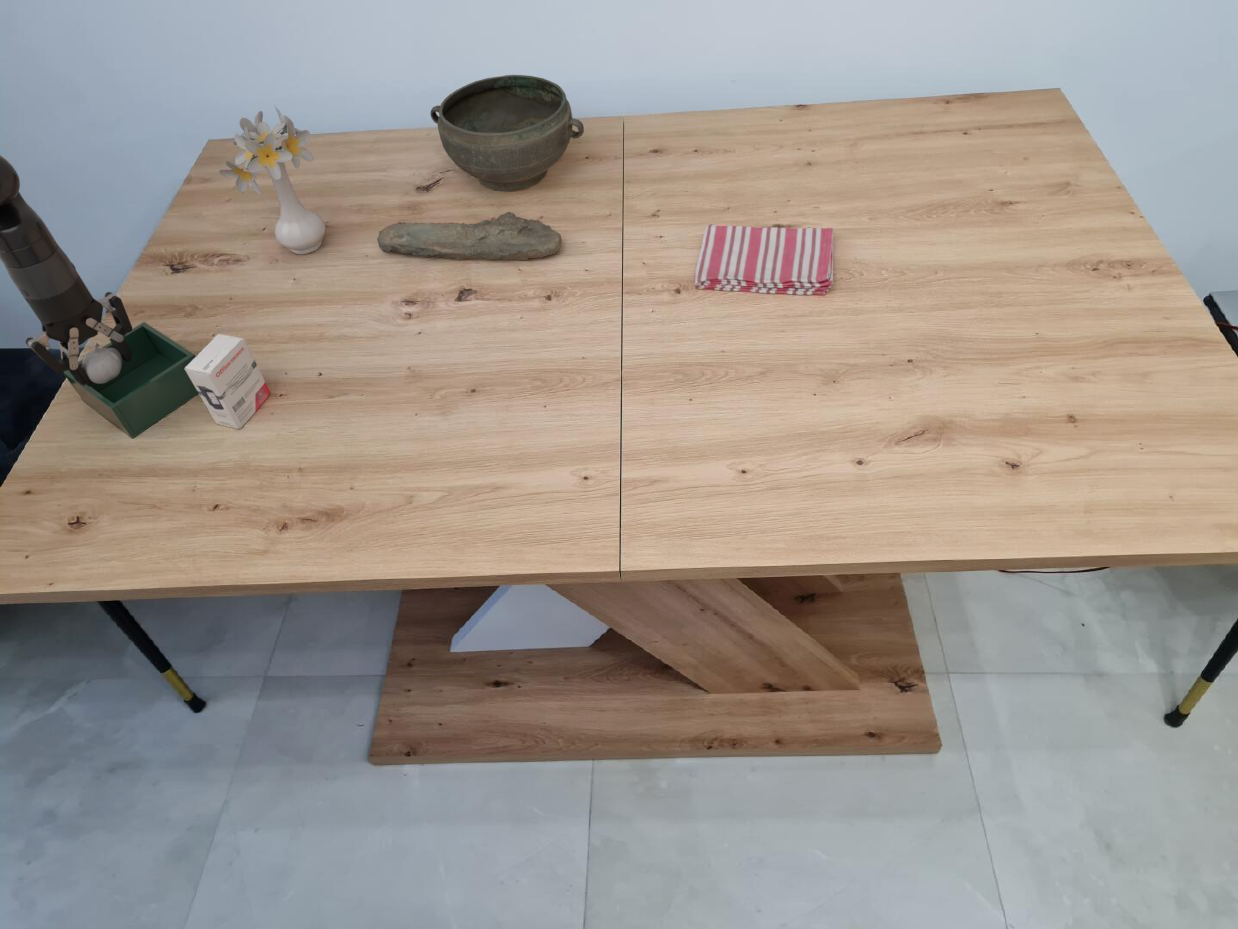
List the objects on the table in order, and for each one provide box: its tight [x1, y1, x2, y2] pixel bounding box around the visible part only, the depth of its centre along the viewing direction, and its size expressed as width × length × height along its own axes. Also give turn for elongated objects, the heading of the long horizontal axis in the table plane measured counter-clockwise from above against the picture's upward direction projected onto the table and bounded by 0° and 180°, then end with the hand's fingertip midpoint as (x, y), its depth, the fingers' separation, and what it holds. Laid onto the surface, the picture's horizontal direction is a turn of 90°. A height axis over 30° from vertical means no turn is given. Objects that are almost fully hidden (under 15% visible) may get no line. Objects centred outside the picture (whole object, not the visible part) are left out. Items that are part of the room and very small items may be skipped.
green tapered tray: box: [63, 321, 199, 440], centre depth 143 cm, size 15×15×7 cm
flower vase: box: [218, 104, 327, 255], centre depth 161 cm, size 13×18×25 cm
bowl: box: [430, 74, 585, 193], centre depth 178 cm, size 32×26×15 cm
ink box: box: [185, 333, 272, 430], centre depth 137 cm, size 8×5×12 cm, turn 160°
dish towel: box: [693, 223, 834, 296], centre depth 156 cm, size 17×23×4 cm
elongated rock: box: [376, 211, 563, 261], centre depth 165 cm, size 35×5×10 cm
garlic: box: [82, 342, 122, 384], centre depth 136 cm, size 6×5×5 cm
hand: (107, 371), depth 137 cm, fingers closed on garlic, 6 cm apart
